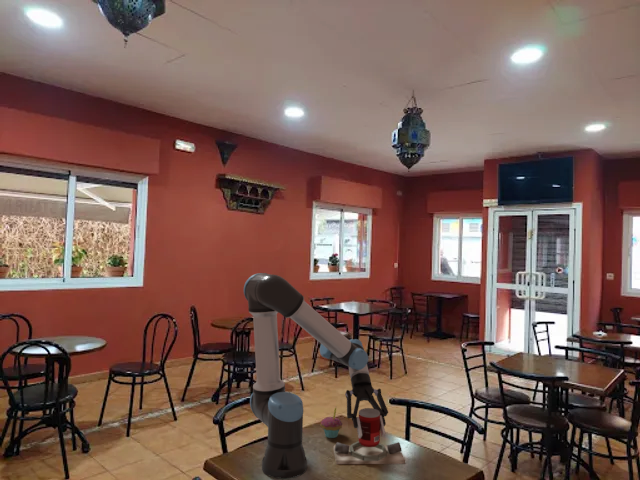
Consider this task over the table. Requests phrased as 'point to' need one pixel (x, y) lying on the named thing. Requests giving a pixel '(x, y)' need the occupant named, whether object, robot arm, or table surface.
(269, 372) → the robot arm
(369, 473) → the table surface
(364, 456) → the plate
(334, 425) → the cupcake
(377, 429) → the canned food
